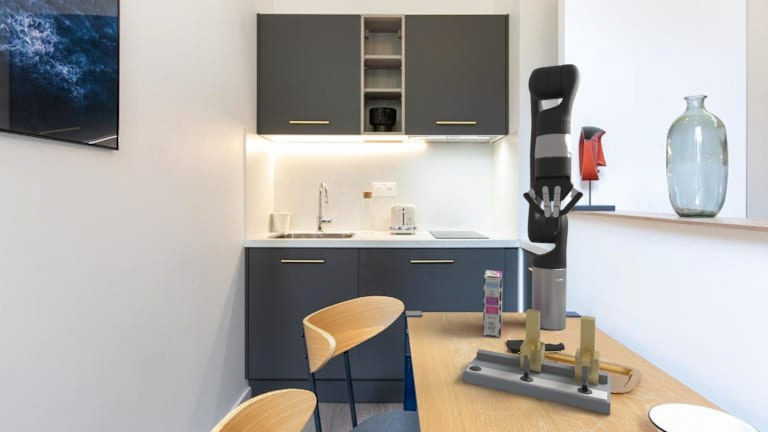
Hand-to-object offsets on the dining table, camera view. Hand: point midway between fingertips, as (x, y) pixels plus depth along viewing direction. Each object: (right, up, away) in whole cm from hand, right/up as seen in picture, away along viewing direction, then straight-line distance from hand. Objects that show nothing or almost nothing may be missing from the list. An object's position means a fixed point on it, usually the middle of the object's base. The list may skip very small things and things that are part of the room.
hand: (552, 233), depth 91 cm
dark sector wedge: (-1, -29, +9) cm, 31 cm away
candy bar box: (-7, -29, +22) cm, 37 cm away
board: (-8, -29, -11) cm, 32 cm away
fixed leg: (0, -28, -15) cm, 31 cm away
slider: (-8, -27, -10) cm, 30 cm away
